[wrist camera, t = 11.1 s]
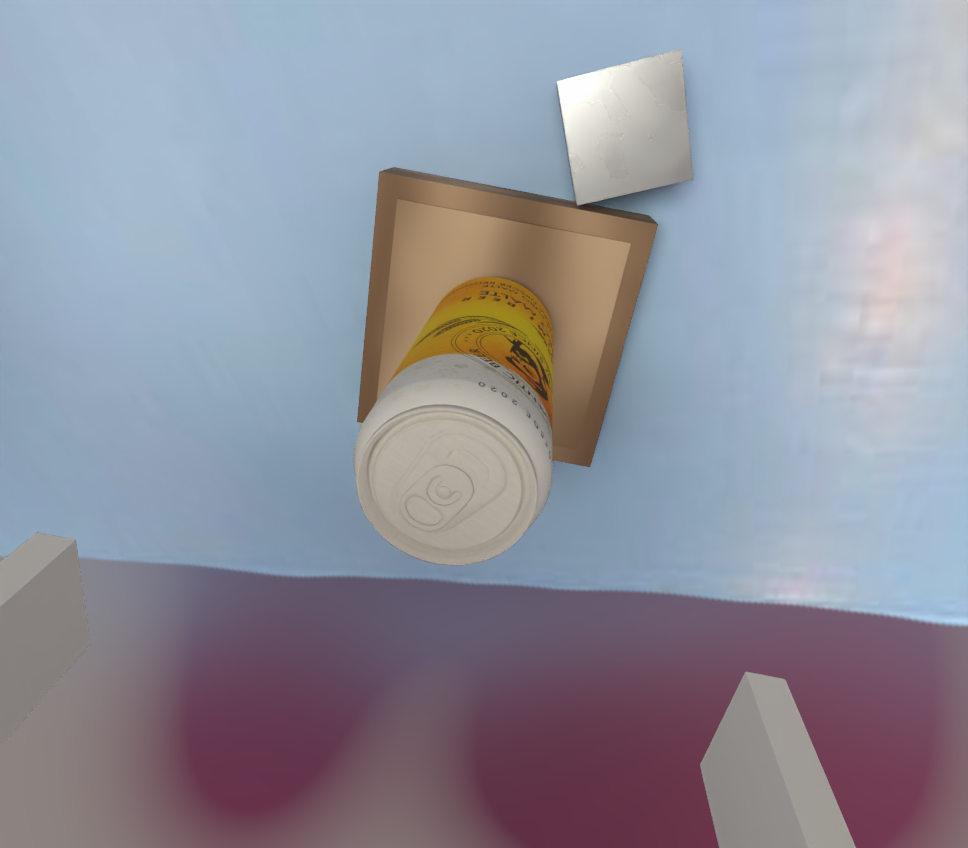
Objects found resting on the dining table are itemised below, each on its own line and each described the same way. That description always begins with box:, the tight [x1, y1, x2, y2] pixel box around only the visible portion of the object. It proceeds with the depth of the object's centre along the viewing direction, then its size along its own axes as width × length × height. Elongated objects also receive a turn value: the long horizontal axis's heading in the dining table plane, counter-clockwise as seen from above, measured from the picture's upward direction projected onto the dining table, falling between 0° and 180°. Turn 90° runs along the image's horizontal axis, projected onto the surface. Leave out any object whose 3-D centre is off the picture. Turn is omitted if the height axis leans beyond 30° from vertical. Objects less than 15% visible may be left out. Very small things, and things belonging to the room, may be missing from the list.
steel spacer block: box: [556, 49, 693, 205], centre depth 29 cm, size 5×5×4 cm
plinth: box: [357, 167, 658, 467], centre depth 33 cm, size 13×13×3 cm
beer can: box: [354, 277, 553, 565], centre depth 25 cm, size 6×6×15 cm
